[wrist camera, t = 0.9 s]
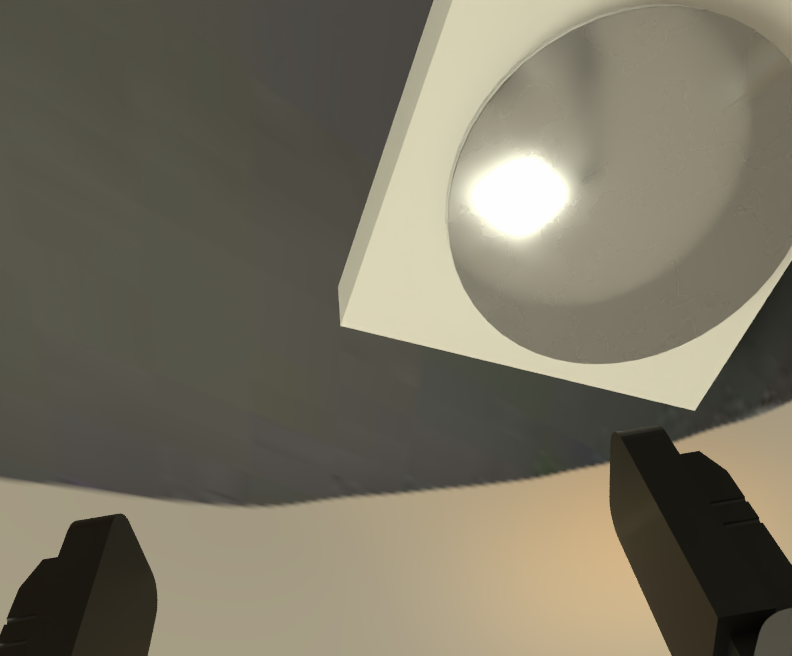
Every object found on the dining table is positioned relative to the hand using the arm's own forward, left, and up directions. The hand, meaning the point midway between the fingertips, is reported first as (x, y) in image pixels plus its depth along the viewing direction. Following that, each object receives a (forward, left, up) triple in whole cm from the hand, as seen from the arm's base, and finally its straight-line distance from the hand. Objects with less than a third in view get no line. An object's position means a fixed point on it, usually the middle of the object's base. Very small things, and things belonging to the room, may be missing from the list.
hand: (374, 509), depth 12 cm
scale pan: (-1, +13, -21) cm, 25 cm away
